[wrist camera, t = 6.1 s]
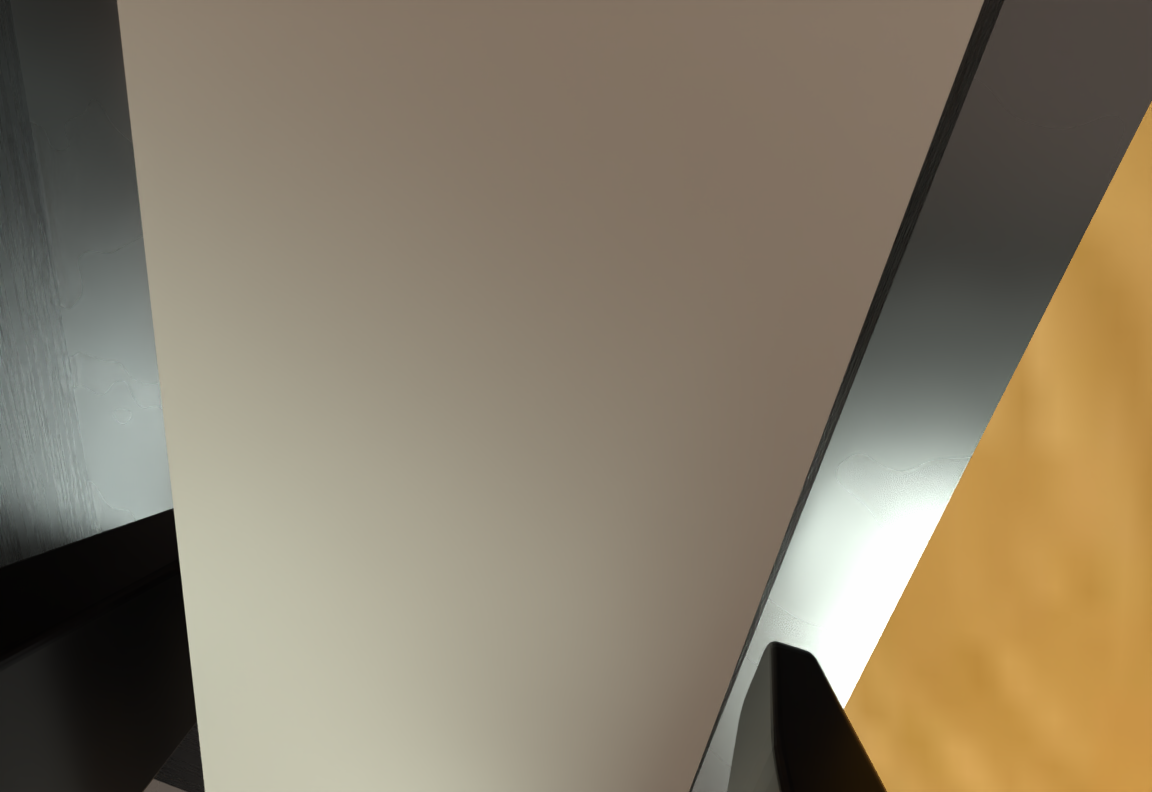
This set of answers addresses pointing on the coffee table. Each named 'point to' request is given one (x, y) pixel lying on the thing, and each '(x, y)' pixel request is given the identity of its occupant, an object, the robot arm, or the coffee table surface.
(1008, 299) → the grey divided tray
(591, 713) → the cream white block
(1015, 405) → the coffee table surface
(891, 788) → the coffee table surface
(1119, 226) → the coffee table surface
